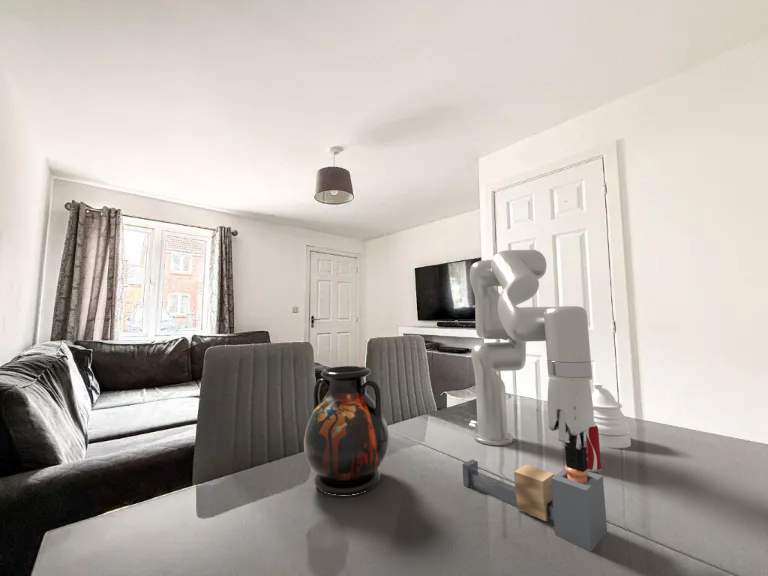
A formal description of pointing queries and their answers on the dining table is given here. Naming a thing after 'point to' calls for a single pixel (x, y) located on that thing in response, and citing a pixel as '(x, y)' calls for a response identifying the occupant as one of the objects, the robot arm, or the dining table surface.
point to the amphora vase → (346, 432)
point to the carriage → (533, 490)
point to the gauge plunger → (577, 475)
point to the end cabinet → (579, 509)
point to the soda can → (593, 449)
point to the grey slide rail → (494, 486)
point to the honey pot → (609, 419)
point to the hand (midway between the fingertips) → (576, 468)
